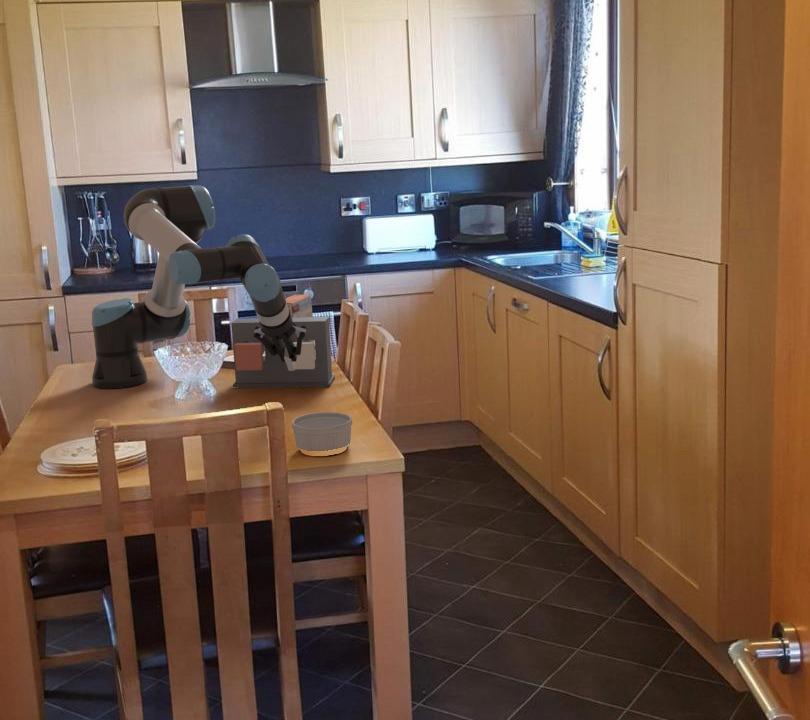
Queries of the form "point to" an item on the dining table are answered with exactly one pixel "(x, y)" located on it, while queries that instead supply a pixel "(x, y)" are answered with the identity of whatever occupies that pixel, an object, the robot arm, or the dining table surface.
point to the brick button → (249, 356)
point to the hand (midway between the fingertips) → (292, 366)
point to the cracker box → (300, 307)
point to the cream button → (306, 356)
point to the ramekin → (322, 431)
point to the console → (276, 370)
